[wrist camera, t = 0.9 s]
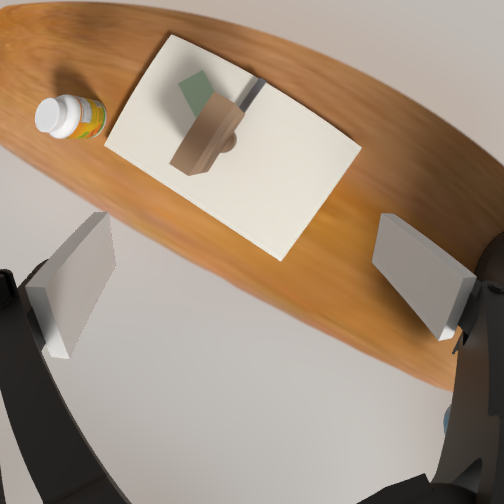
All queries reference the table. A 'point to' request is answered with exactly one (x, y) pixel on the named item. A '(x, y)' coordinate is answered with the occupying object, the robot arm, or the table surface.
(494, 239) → the robot arm
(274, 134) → the dial board
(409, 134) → the table surface
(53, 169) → the table surface
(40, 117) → the supplement bottle
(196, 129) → the brown handled block
